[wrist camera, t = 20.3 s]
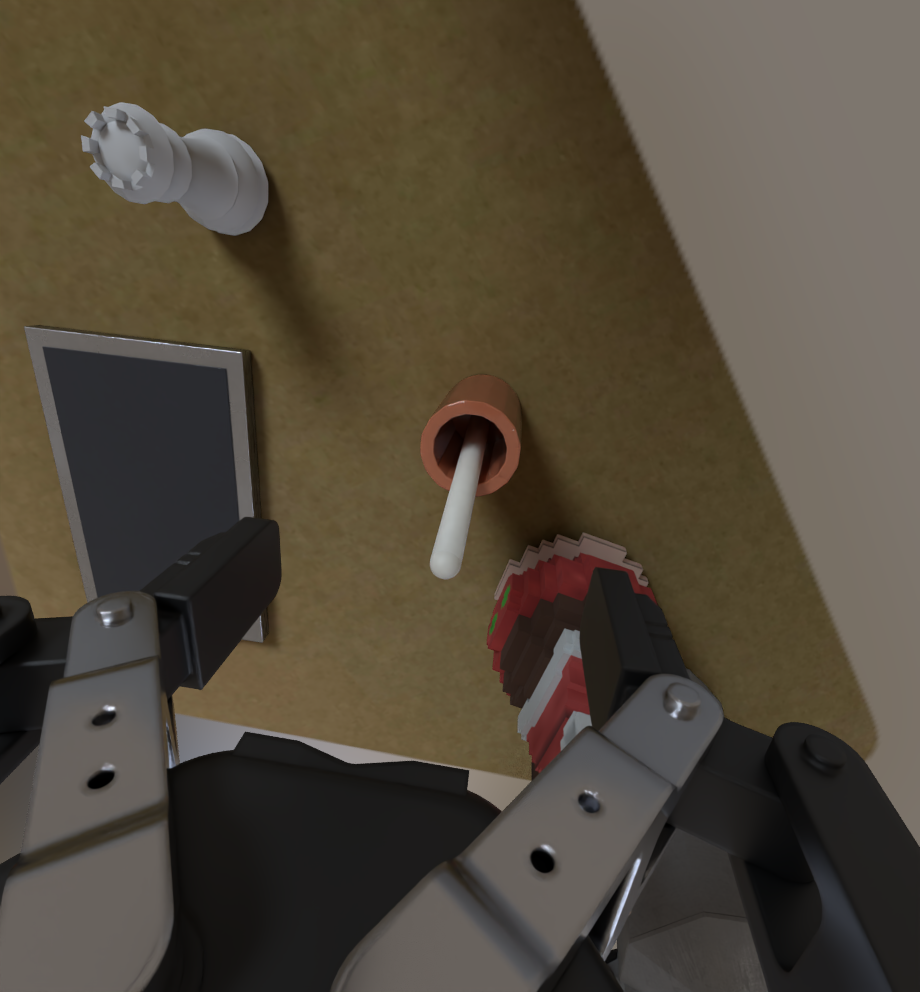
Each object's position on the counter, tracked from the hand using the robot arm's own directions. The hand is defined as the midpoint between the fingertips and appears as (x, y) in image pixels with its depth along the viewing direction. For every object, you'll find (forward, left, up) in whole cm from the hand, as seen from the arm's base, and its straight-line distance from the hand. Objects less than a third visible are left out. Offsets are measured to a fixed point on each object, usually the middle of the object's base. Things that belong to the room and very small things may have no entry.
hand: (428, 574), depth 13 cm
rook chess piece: (-10, -14, -18) cm, 25 cm away
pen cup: (0, 0, -17) cm, 17 cm away
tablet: (+8, -20, -17) cm, 28 cm away
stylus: (0, 0, -17) cm, 17 cm away
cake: (+11, +7, -18) cm, 22 cm away
